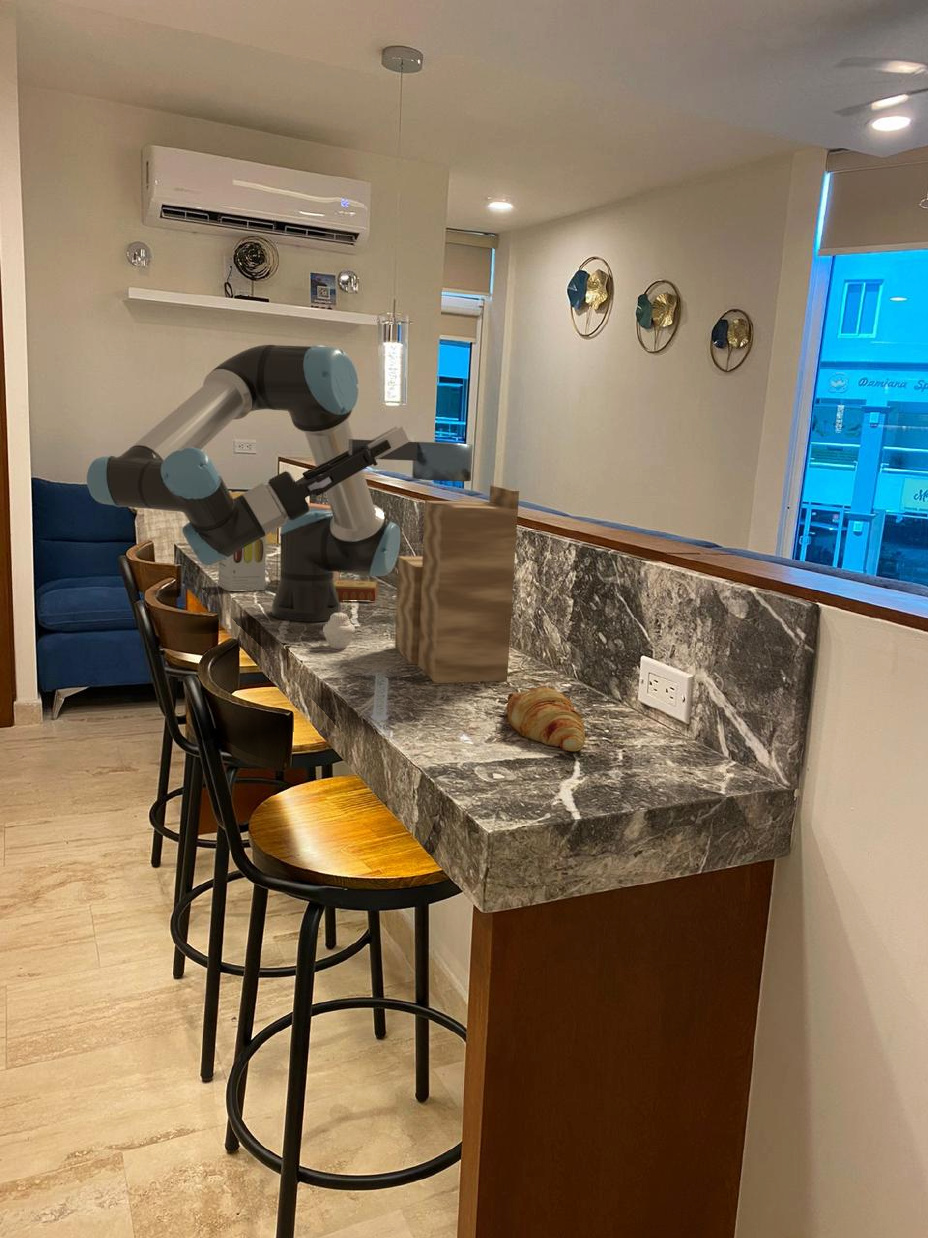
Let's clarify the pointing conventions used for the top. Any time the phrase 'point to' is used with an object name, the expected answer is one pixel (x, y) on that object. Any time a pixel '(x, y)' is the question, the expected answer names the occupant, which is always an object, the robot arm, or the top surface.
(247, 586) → the supplement box
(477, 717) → the top surface
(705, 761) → the top surface
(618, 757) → the top surface
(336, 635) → the white ridged rounded piece
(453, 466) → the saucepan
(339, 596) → the carton
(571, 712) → the croissant
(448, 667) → the pine stand
